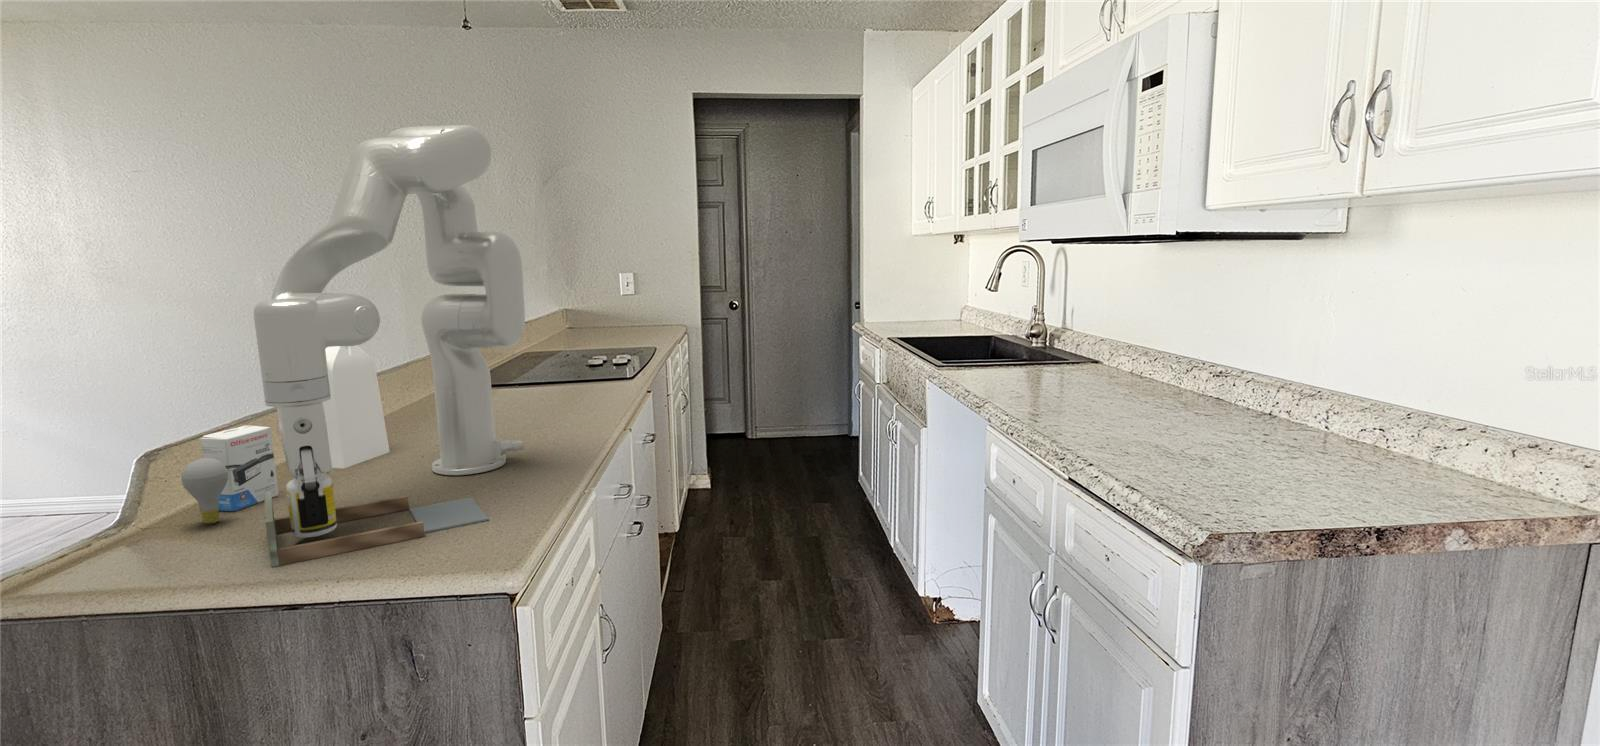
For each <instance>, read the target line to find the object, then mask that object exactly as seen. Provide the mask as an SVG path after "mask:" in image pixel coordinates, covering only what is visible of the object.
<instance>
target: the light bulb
mask: <svg viewBox="0 0 1600 746" xmlns="http://www.w3.org/2000/svg"><path fill="white" fill-rule="evenodd" d="M227 481H228V471H227V469H226V467H225V466H224V464H223V463H221V462H220V461H218V460H216V459H212V458H203V457H202V458H198V459H196V460H193V461H192V462H190V463H188V464H187V465H186V466H185V467H184V469H183V471H182V474H181V484H182V486H183V488H184V489H185V490H186V491H187V492H188V494H190V496H192V497H193V499H195V500H196V502H197V503H198V506H199V512H200V513H201V519H202V522H203V523H205V524H208V525H210V526H211V525H214V524H215V523H216V522H218V521H220V512H219V511H220V510H219V503H218V502H219V497H220V495H221V493H222V491H223V489H224V487H225V485H226V483H227Z"/></svg>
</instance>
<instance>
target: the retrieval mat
mask: <svg viewBox="0 0 1600 746" xmlns="http://www.w3.org/2000/svg"><path fill="white" fill-rule="evenodd" d="M408 511H409V512H410V514H411V515H412V517H413V519H414V521H415V522H420V521H423V524H424V534H427V533H432V532H438V531H442V530H443V531H444V530H447V529H453V528H458V527H463V526H469V525H472V524H473V525H474V524H478V523H483V522H488V521H490V518H489V516H488V515H487V514H486V513H485V512H484V511H483V509H482V508H481V507H480V506H479V505H478V504H477V503H476V502H475V500H474V499H473V498H472V497H464V498H459V499H455V500H454V499H452V500H449V501H443V502H438V503H432V504H427V505H421V506H414V507H411V508H409V510H408ZM487 520H488V521H487ZM482 521H483V522H482Z"/></svg>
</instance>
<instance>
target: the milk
mask: <svg viewBox="0 0 1600 746" xmlns="http://www.w3.org/2000/svg"><path fill="white" fill-rule="evenodd" d="M325 351H326V360H327V368H328V377H329V385H330V394H331V399H329V400H327V401H324V402H323V407H324V412H325V417H326V423H327V431H328V439H329V447H330V455H331V463H332V469H347V468H349V467H353V466H355V465H358V464H361V463H362V462H367V461H369V460H372V459H374V458H378V457H380V456H383V455H386V454H388V453H390V446H389V442H388V441H389V440H388V434H387V428H386V423H385V416H384V410H383V409H384V408H383V404H382V398H381V393H380V392H381V391H380V385H379V380H378V375H377V368H376V363H375V360H374V359H373V358H372V356H371V355H370V354H368V352H366V351H365V350H364V349H363V348H361V347H360V345H356V346H334V347H327V348H326V349H325Z"/></svg>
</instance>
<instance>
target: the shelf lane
mask: <svg viewBox="0 0 1600 746" xmlns="http://www.w3.org/2000/svg"><path fill="white" fill-rule="evenodd" d="M264 498H265V500H264V517H265V521H264V523H265V529H266V538H267V545H268V552H269V560H270V567H271V568H274V567H279V566H285V565H289V564H295V563H298V562H303V561H304V562H305V561H310V560H313V559H319V558H323V557H329V556H333V555H339V554H343V553H348V552H352V551H358V550H363V549H368V548H373V547H379V546H383V545H387V544H388V545H389V544H394V543H398V542H403V541H407V540H414V539H417V538H423V537H425V535H426V534H425V533H424V524H423V521H420V522H416V521H415V522H410V523H405V524H399V525H395V526H394V525H393V526H390V527H384V528H380V529H374V530H370V531H364V532H360V533H353V534H347V535H343V536H338V537H337V536H336V537H333V538H326V539H322V540H321V539H320V540H317V541H311V542H305V543H301V544H295V545H291V546H290V545H289V546H286V547H285V546H283V547H279V548H278V539H277V535H278V534H281V533H287V532H292V530H291V523H290V515H286V516H283V517H282V516H281V517H276V518H275V513H274V512H275V511H274V506H273V497H272V495H271V492H267V493H264ZM335 511H336V520H337V523H342V522H349V521H353V520H358V519H364V518H369V517H375V516H381V515H387V514H391V513H398V512H402V511H410V510H409V497H408V495H402V496H398V497H392V498H385V499H381V500H374V501H369V502H362V503H357V504H356V503H355V504H352V505H346V506H340V507H335Z"/></svg>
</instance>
